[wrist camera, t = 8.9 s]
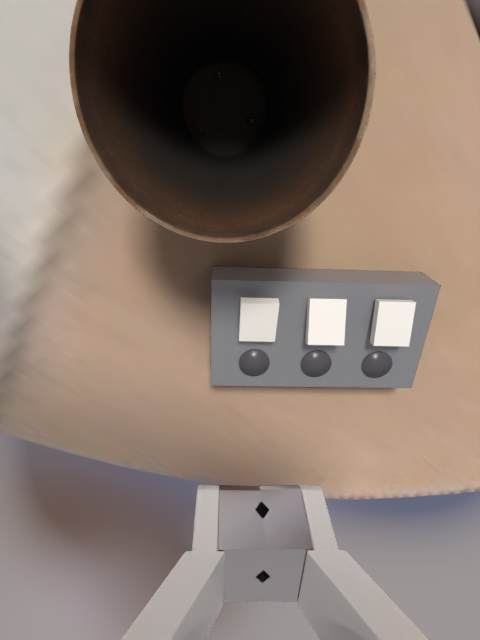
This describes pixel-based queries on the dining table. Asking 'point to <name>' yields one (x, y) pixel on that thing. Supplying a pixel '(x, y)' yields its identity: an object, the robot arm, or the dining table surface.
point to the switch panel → (290, 341)
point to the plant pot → (223, 106)
